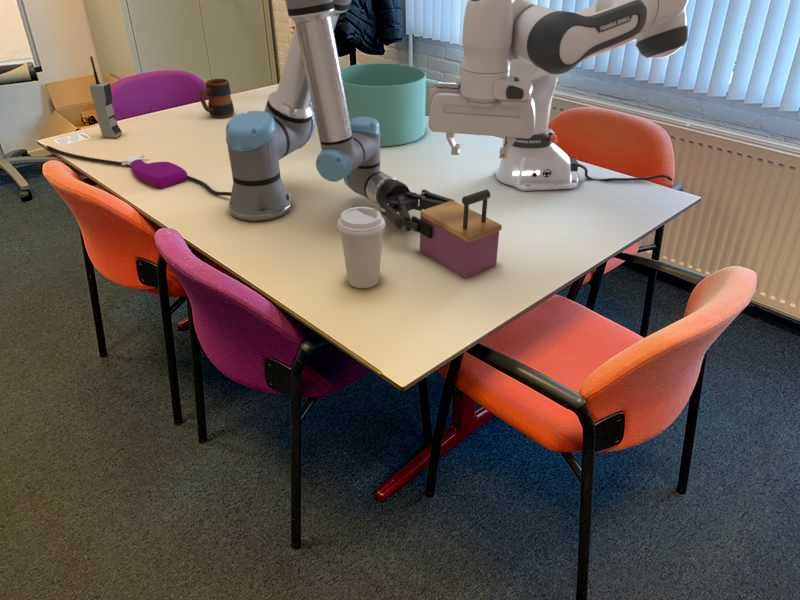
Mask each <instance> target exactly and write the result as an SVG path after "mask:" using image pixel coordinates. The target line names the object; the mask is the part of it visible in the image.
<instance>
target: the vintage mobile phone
mask: <svg viewBox="0 0 800 600" xmlns="http://www.w3.org/2000/svg"><path fill="white" fill-rule="evenodd" d="M89 59H90V62H91V66H92V70H93V76H94V79H95V82H94V83H92V84H90V85H89V91H90V94H91V98H92V102H93V106H94V109H95V114H96V118H97V122H98V125H99V129H100V133H101V136H102V138H108V139H109V138H110V139H117V138H119V137H120V136H122V135H123V131H122V129H121V128H120V126H119V125H118V120H117V117H116V113H115V108H114V104H113V91H112V87H111V83H110V82H101V81H100V80H99V77H98V72H97V70H96V66H95V63H94V59H93V56H91V55H90V57H89Z"/></svg>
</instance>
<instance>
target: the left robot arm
mask: <svg viewBox="0 0 800 600" xmlns="http://www.w3.org/2000/svg"><path fill="white" fill-rule="evenodd" d="M284 2H285V6H286V11H287V15H288V18H289V19H290V20H292V21H293V22H294V24H295V26H294V30H293V34H292V37H291V41H290V44H289V47H288V51H287V55H286V59H285V61H284V64H283V68H282V72H281V75H280V79H279V82H278V85H277V89H276V90H275V91H272V92H270V93H269V94H268V98H267V101H266V105H265V108H264V111H263V110H250V111H247V112H241V113H238V114H237V115H234V116H233V117H231V118H230V119H229V120H228V122H227V123H226V126H225V135H226V136H225V141H226V145H227V151H228V157H229V165H230V169H231V170H230V171H231V176H232V187H231V191H216V190H214V189H212V188H211V186H209V185H208V183H206V182H205V181H202V180H200V179H198V178H195V177H192V176H189V175H187V178H186V180H189V181H190V182H191V181H192V182H194V183H197V184H199V185H201V186H202V187H204V189H206V190H207V191H208V192H209V193H211V194H213V195H215V196H229V197H230V200H229V212H230V215H231V216H232V217H233V218H235V219H238V220H241V221H245V222H252V223H253V222H267V221H273V220H276V219H278V218H281V217H283V216H285V215H286V214H288V213H289V212H290V211H291V208H292V203H291V194H288V192H287V190H286V187H285V184H284V183H283V180H282V177H281V168H280V160H282V159H283V158H286V156H288V155H290V154H293V152H295V151H297V150H300V149H302V148H303V147H304V146H305V145H306V144H307V143H308V142H309V141H310V140H311V139H312V137H313V135H314V132H315V128H316V129H317V133H318V139H319V142H320V149H321V151H320V152H319V154H317V157H316V159H315V160H316V161H315V167H316V171H317V172H318V174H319V175H320V176H321V177H322V178H323V179H325V180H326V181H328V182H333V183H335V182H339V181H341V180H343V182H344V184H345V185H346V186H347V188H349V189H350V190H351V191H353V192H354V193H356V194H358V195H360V196H362V197H364V198H366V199H367V200H369V201H371V202H372V203H374V204H376V205H377V206H379V212H380V213H381V216H384V217H386V218H387V219H388V221H390V223H391V224H392V225H393V226H394V227H395V228H396V229H397V230H402V229H403V228H404V231H405V232H410V231H411V230H413V231H414V232H418V234H420V233H421V234H423V235H424V236H426V237H428V238H429V239H430V238H432V233H433V226H431V225H429V224H427V223H425V222H424V221H422V220H420V218H419V217H417V216H415V215H413V216H411V215H410V213H409V212H410V211H412V210H413V211H419V212H421V211H422V210H425V209H428V208H431V207H434V206H437V205H440V204H443V203H446V202H449V201H452V200H453V201H455V200H454V199H452V198H449V197H446V196H442V195H439V194H436V193H433V192H430V191H429V190H427V189H421V193H417V192H415V191H414V192H413V191H411V190H410V189H409V187H408V185H407V184H405V183H403V181H399V180H398V179H396V178H395V177H392V176H390V175H389V174H386V173H384V172H383V171H381V147H380V130H379V122H378V121H377V120H376V119H374V118H371V117H357V118H354V119H352V120H349V114H348V109H347V103H346V98H345V92H344V87H343V81H342V75H341V70H340V69H341V65H340V60H339V53H338V47H337V42H336V37H335V32H334V31H335V29H336V26H337V23H338V20H339V17H340V15H341V14H343V13H345V12H348V11H349V8H350V6H351V3H352V0H284ZM313 117H314V118H313ZM315 125H316V126H315ZM45 148H46V149H47V150H50V151H52V152H54V153H57V154H60V155H63V156H66V157H70V158H75V159H78V160H79V159H80V160H82V161H83V160H84V161H90V162H95V163H102V164H108V165H109V164H110V165H116V166H122V167H123V166H124V167H130V165H128V164H127V165H122V163H121V161H117V160H109V159H103V158H102V159H101V158H95V157H90V156H84V155H79V154H75V153H70V152H66V151H63V150H60V149H58V148H55V147H53V146H51V145H46V147H45ZM130 168H131V167H130Z"/></svg>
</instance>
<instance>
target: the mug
mask: <svg viewBox="0 0 800 600" xmlns="http://www.w3.org/2000/svg"><path fill="white" fill-rule="evenodd" d="M205 94H206V95H207V101H208V102H206V99H205ZM231 94H232V91H231V86H230V81H229V80H228V79H226V78H213V79H209V80H207V81H206V83H205V88H203V89H201V90H200V92H199V100H200V103H201V105H202V108H203V110H205V112H206V113H209V115H210V117H212V118H215V119H226V118H229V117H232V116H233V115H234V113H235V108H234V102H233V100H232V96H231Z"/></svg>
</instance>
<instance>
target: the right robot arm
mask: <svg viewBox="0 0 800 600" xmlns="http://www.w3.org/2000/svg"><path fill="white" fill-rule="evenodd" d="M688 2H689V0H596V3H595V4H592V5H591V6H588V7H585V8H583V9H581V10H578V11H576V12H573V11H566V10H558V9H555V8H551V7H546V6H542V5H537V4H534V3H533V2H530V1H528V0H467V2H466V5H465V10H464V16H463V25H462V37H461V38H462V39H461V40H462V41H461V43H462V48H463V56H462V57H463V58H462V60H461V63H460V79H459V82H457V81H454V82H453V81H450V82H448V81H447V82H446V81H436V83H433V84H431V85H430V87H428V92H427V94H428V95H427V96H428V97H427V98H428V102H429V104H430V108H429V109H430V110H429V114H428V125H427V126H428V128H429V130H430V131H431V132H433V133H443V134H444V133H445V138H446V140H447V142H448V144H449V146H450V149H451V150H450V154H451V156H459V155H460V152H461V150H460V149H461V148H460V147H461V143H457V142H456V141H455V139H454V137H455V135H456V134H458V135H459V134H461V135H472V136H486V137H498V138H499V137H501V138H502V146H500V149H499V159H500V162H499V167H498V169H497V172H496V175H495V177H496V180H498V181H499V182H501V183H502V184H504V185H507V186H511V187H515V189H517V190H519V191H522V192H529V191H530V192H531V191H550V190H551V191H552V190H572V189H576V188H577V186H578V184H579V178H578V175H577V172H578V169H579V168H581V169H583V170H584V177H585V178H586V179H587V180H588V181H598V182H599V181H600V182H611V181H612V182H613V181H617V182H629V181H633V182H634V181H648V180H653V179H658V178H664V179H667V180H669V181H671V182H673V181H674V179H673V178H672V177H671V176H669V175H667V174H656V175H652V176H645V177H609V178H599V179H598V178H594V177H593V178H592V177H590V176H589V175H588V173H589V172H588V168H587V167H586V166H585V165H583V164H580V163H579V162H578V159H577V158H576V157H569V155H568V154H567V153H566V152H565V151H564V150H563V149H561V148H560V147H559V146H558V145H557V143H558V141H559V138H558V135H557V134H555V131H554V130H553V129H552V127H551V128H549V122H550V114H551V108H552V101H553V96H554V92H555V90H556V85H557V82H558V78H559V75H562V74H566V73H567V72H570V71H571V70H573V69H574V68H575V67H577V66H578V65H579V64H580V63H582V62H583V61H585V60H589V59H591V58H593V57H596V56H600V55H602V54H604V53H607V52H610V51H613V50H616V49H618V48H621V47H624V46H626V45H628V44H631V43H633V42H636V43H635V47H636V48H637V51H638V52H639V53H640V55H641V56H643V57H644V58H646V59H649V58H651V59H664V58H666V57H669V56H671V55H673V54H675V53H676V52H678V51H679V50H680V49H681V48H682V47H684V46H685V45H686V43H687V42H688V40H689V25H687V13H686V7H687V5H688Z"/></svg>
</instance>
